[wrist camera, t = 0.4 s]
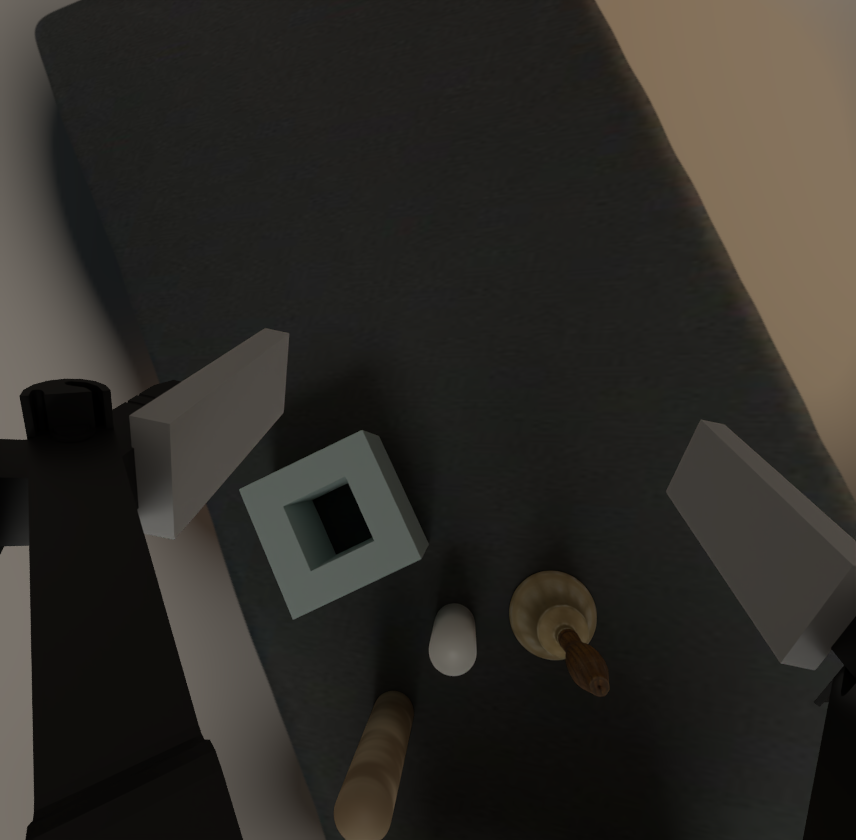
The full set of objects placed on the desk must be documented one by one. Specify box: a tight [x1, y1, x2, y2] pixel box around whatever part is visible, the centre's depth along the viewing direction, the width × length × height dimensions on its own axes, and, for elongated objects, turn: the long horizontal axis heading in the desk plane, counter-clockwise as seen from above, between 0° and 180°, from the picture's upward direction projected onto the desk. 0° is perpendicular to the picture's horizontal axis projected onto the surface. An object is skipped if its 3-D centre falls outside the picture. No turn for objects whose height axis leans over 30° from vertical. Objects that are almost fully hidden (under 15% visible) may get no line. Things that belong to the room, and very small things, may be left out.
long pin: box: [334, 691, 414, 840], centre depth 40 cm, size 4×4×14 cm
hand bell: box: [509, 571, 610, 697], centre depth 39 cm, size 8×8×16 cm
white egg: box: [429, 603, 477, 676], centre depth 44 cm, size 4×4×7 cm
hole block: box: [239, 430, 429, 620], centre depth 45 cm, size 12×12×8 cm
